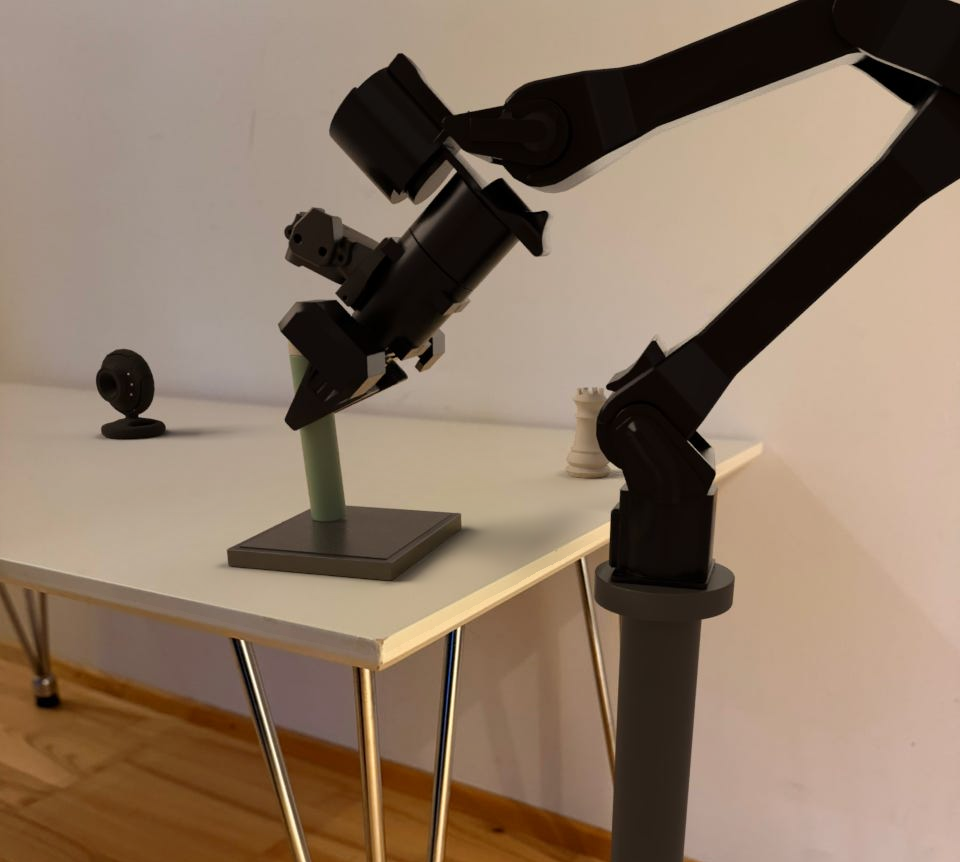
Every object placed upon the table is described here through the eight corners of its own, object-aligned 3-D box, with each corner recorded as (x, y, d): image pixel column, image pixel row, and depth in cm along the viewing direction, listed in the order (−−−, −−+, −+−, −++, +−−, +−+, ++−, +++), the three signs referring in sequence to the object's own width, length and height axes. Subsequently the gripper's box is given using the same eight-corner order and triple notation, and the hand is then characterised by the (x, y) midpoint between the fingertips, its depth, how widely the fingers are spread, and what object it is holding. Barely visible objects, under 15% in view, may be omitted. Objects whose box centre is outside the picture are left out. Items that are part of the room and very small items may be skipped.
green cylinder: (341, 508, 75) (319, 333, 70) (350, 518, 73) (328, 338, 67) (308, 514, 75) (283, 337, 69) (316, 524, 72) (291, 342, 67)
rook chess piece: (605, 468, 97) (608, 385, 94) (616, 477, 93) (619, 391, 90) (560, 470, 96) (562, 386, 94) (569, 479, 92) (571, 392, 89)
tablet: (461, 528, 76) (461, 512, 75) (391, 581, 63) (390, 562, 63) (320, 518, 79) (319, 502, 79) (228, 566, 67) (226, 548, 66)
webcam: (87, 436, 118) (74, 350, 115) (135, 427, 124) (124, 345, 121) (132, 441, 115) (120, 352, 111) (180, 432, 121) (170, 347, 117)
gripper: (400, 175, 72) (273, 330, 79) (298, 151, 55) (147, 351, 62) (504, 289, 73) (371, 432, 80) (436, 300, 56) (273, 481, 63)
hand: (298, 422), depth 71 cm, fingers closed on green cylinder, 3 cm apart
